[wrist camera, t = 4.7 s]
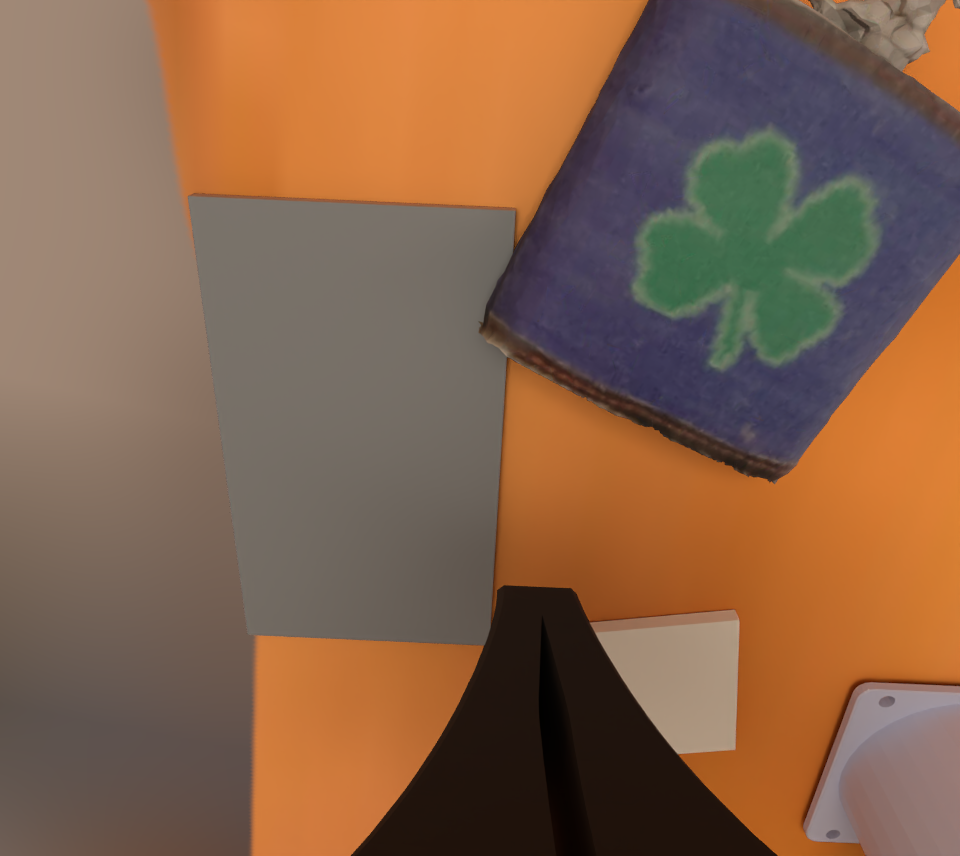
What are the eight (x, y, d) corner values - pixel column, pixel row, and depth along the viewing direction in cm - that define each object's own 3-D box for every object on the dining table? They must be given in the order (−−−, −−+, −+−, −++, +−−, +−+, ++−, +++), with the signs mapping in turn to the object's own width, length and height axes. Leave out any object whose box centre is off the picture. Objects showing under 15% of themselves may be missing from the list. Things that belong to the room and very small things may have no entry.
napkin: (734, 609, 24) (739, 619, 23) (731, 738, 26) (735, 749, 26) (490, 631, 24) (490, 641, 24) (511, 754, 27) (511, 766, 26)
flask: (760, 454, 21) (1044, 87, 17) (801, 509, 18) (1149, 88, 14) (474, 311, 19) (711, -141, 15) (472, 349, 16) (760, -189, 12)
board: (515, 207, 18) (515, 210, 18) (489, 637, 24) (489, 645, 24) (194, 193, 18) (187, 196, 18) (251, 626, 24) (247, 634, 24)
